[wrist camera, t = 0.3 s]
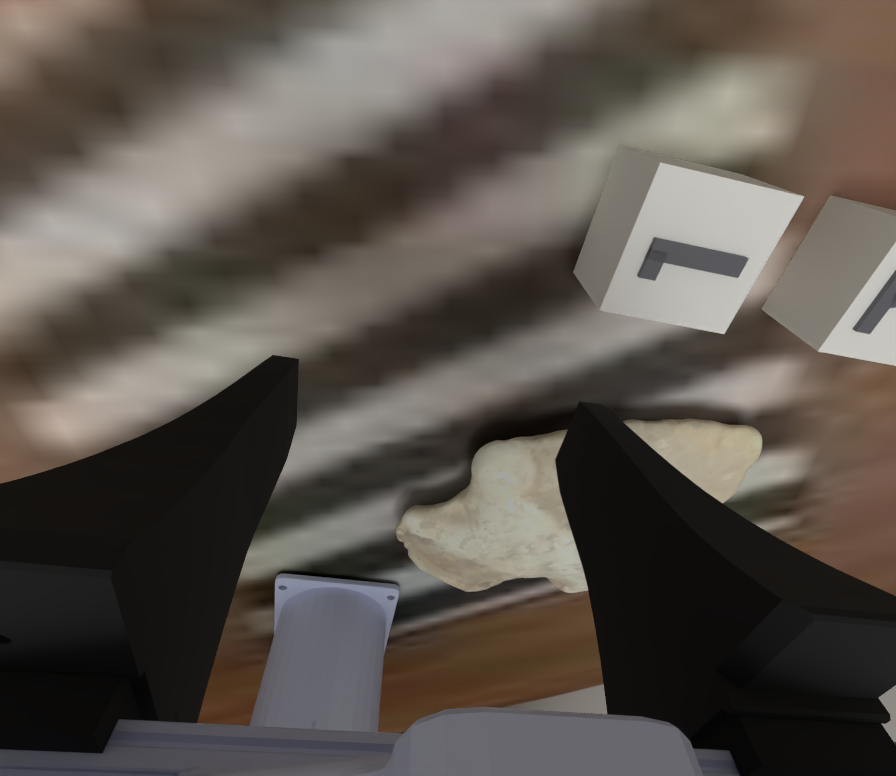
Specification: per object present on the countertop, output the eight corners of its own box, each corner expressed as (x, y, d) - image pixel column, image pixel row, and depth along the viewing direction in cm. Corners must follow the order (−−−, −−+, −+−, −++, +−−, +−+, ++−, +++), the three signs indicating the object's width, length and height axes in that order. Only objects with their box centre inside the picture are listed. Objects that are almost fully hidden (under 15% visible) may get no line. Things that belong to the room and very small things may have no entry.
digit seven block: (854, 326, 23) (931, 374, 19) (759, 308, 22) (821, 353, 19) (933, 219, 20) (1040, 251, 17) (828, 194, 19) (915, 223, 16)
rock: (354, 476, 27) (716, 320, 23) (462, 596, 34) (756, 495, 29) (346, 530, 24) (763, 361, 19) (466, 651, 31) (796, 547, 26)
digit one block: (678, 292, 21) (726, 336, 18) (572, 270, 21) (601, 312, 17) (738, 173, 19) (808, 198, 15) (618, 144, 18) (663, 163, 15)
